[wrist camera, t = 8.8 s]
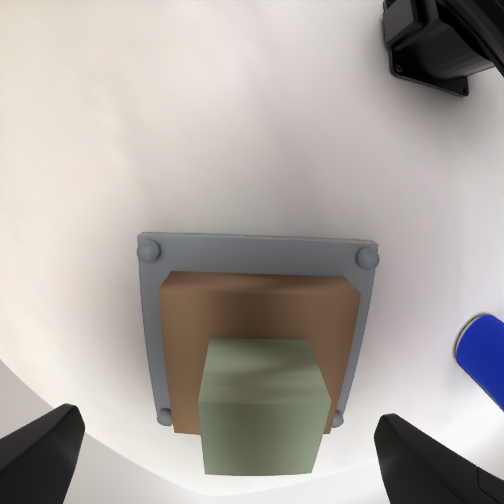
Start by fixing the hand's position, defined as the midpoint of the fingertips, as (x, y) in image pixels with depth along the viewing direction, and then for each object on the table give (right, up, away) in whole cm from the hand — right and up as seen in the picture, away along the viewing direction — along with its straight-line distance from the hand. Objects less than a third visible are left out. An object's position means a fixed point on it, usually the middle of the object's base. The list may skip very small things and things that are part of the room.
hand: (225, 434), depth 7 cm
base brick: (+1, -1, +12) cm, 12 cm away
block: (+1, -2, +8) cm, 9 cm away
